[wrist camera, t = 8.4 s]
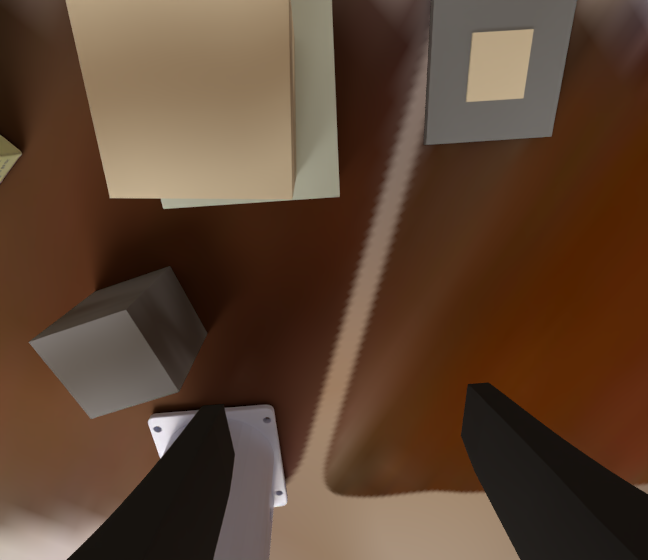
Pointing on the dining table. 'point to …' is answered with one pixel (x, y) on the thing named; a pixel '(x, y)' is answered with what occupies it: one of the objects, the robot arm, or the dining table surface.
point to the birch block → (191, 96)
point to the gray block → (124, 343)
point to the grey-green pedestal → (306, 109)
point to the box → (7, 157)
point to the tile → (495, 68)
